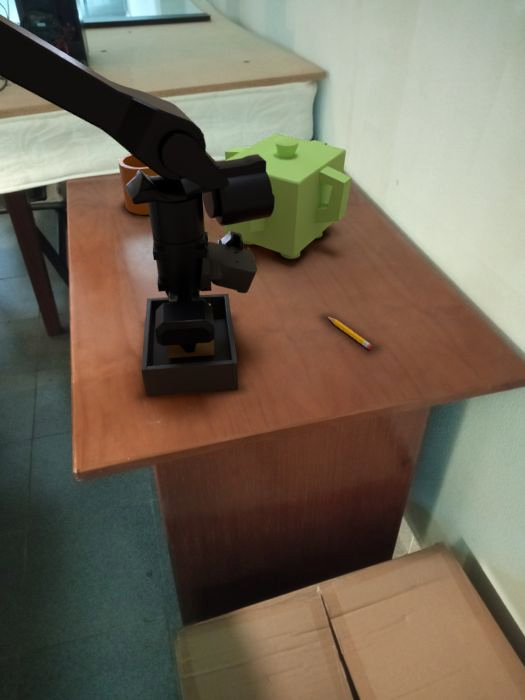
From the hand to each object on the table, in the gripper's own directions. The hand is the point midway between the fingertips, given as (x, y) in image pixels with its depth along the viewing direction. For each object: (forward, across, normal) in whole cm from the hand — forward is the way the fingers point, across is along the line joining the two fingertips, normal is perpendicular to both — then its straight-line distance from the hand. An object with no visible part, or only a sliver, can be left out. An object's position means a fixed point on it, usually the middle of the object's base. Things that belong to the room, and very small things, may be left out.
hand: (190, 339), depth 64 cm
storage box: (+3, +30, -17) cm, 35 cm away
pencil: (+3, +2, -22) cm, 22 cm away
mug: (+3, +45, +6) cm, 45 cm away
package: (+1, 0, 0) cm, 1 cm away
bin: (+3, 0, 0) cm, 3 cm away
